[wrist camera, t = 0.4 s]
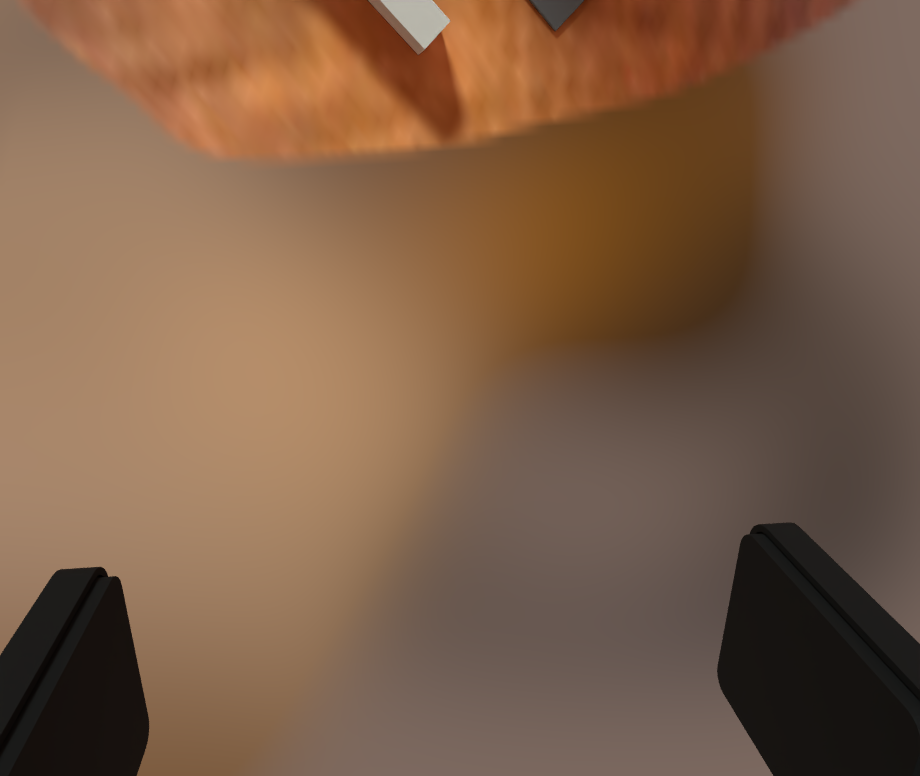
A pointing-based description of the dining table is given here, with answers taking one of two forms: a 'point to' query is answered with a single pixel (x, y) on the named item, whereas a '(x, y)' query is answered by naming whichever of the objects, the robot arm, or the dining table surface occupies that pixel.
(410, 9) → the light grey l-shaped block
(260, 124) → the dining table surface
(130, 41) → the dining table surface
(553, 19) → the pose mat
